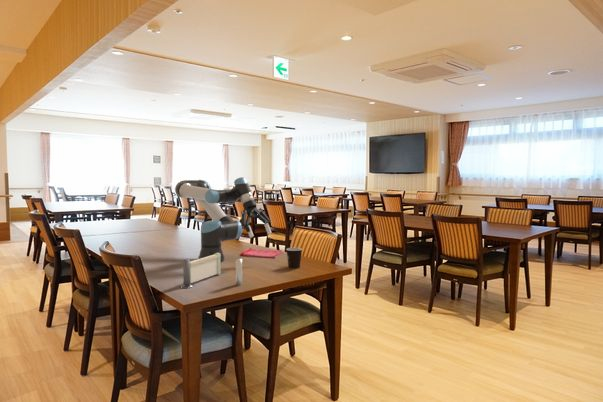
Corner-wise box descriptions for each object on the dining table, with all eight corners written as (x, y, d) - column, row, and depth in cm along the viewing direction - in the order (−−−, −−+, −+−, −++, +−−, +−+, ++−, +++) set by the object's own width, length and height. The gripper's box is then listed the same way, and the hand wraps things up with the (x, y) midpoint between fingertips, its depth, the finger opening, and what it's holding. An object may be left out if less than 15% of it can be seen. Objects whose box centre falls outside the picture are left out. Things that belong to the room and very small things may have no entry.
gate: (187, 286, 180) (186, 260, 179) (182, 285, 181) (181, 259, 180) (221, 273, 202) (221, 250, 202) (216, 272, 204) (216, 250, 203)
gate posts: (179, 289, 177) (179, 263, 176) (180, 285, 184) (179, 259, 183) (242, 285, 184) (242, 259, 183) (241, 281, 191) (240, 256, 190)
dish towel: (250, 251, 265) (250, 247, 265) (283, 253, 258) (283, 249, 258) (239, 256, 249) (239, 252, 248) (274, 259, 242) (274, 255, 242)
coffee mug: (300, 269, 215) (300, 251, 214) (284, 268, 216) (284, 250, 216) (304, 264, 226) (304, 247, 225) (289, 263, 228) (289, 246, 227)
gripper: (234, 200, 219) (247, 235, 213) (267, 198, 238) (280, 230, 232) (227, 206, 224) (240, 241, 218) (260, 203, 242) (273, 235, 236)
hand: (261, 235), depth 225 cm, fingers open, 13 cm apart
